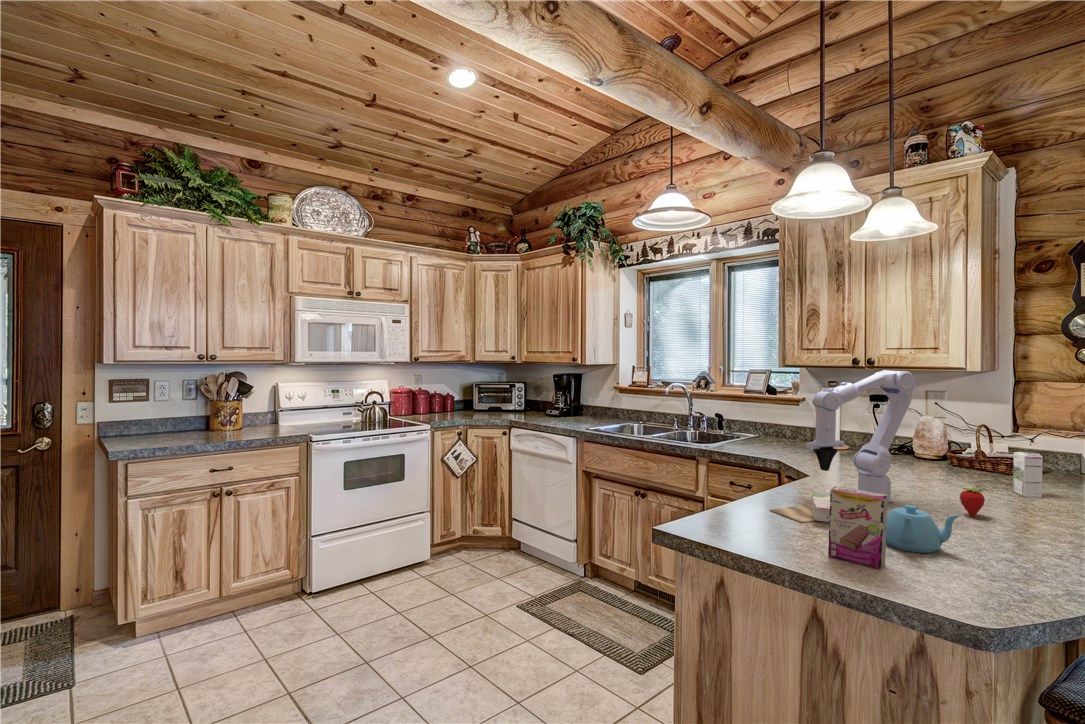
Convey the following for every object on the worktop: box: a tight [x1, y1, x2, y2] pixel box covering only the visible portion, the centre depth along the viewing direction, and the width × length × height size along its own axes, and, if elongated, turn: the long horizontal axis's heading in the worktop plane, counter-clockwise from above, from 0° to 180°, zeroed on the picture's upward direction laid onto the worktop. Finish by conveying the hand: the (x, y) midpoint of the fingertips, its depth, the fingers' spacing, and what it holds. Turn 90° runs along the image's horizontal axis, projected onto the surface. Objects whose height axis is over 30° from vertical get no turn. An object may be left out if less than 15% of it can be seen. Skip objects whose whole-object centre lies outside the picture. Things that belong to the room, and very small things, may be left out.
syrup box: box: [1012, 451, 1044, 498], centre depth 185 cm, size 6×6×14 cm
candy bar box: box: [827, 485, 889, 570], centre depth 125 cm, size 11×5×16 cm, turn 48°
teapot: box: [886, 504, 962, 554], centre depth 135 cm, size 15×15×10 cm
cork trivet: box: [769, 504, 819, 524], centre depth 160 cm, size 14×12×1 cm
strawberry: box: [959, 487, 986, 517], centre depth 160 cm, size 6×8×10 cm
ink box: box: [811, 494, 830, 523], centre depth 155 cm, size 9×5×15 cm
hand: (824, 470), depth 174 cm, fingers closed
